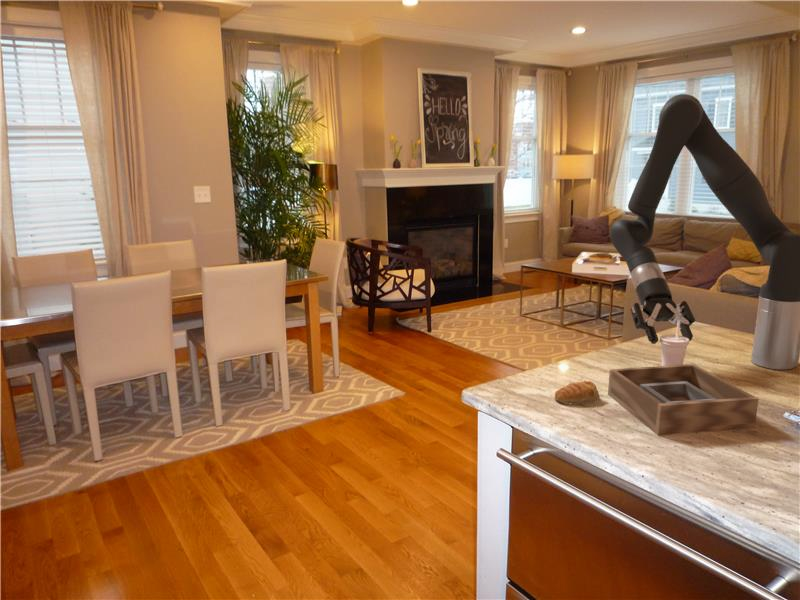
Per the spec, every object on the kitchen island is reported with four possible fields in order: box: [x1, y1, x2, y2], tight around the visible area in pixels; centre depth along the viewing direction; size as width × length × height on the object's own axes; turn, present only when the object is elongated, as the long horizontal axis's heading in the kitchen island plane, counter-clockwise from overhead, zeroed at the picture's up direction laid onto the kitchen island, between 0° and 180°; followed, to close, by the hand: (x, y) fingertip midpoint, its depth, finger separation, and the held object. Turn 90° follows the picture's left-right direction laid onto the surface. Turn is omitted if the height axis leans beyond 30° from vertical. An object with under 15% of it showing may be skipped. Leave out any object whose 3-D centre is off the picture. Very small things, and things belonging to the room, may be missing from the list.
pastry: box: [554, 380, 601, 405], centre depth 127 cm, size 9×7×4 cm
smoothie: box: [659, 320, 690, 366], centre depth 138 cm, size 6×6×14 cm
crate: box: [607, 363, 759, 436], centre depth 120 cm, size 20×20×6 cm
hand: (672, 341), depth 138 cm, fingers open, 8 cm apart
